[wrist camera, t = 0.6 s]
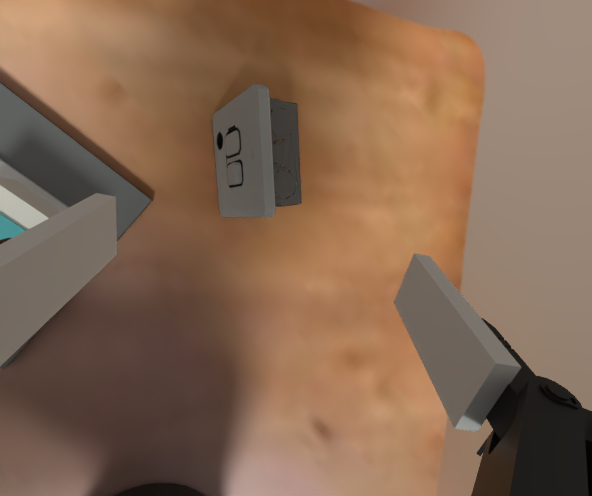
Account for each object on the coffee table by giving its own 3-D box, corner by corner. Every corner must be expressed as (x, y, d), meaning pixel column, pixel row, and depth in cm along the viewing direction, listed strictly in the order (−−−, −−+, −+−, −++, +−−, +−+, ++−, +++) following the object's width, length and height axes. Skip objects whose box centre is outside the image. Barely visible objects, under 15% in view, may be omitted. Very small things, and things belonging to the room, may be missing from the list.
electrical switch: (210, 115, 30) (231, 77, 22) (264, 118, 32) (303, 85, 24) (218, 217, 31) (241, 220, 23) (270, 214, 33) (308, 215, 25)
